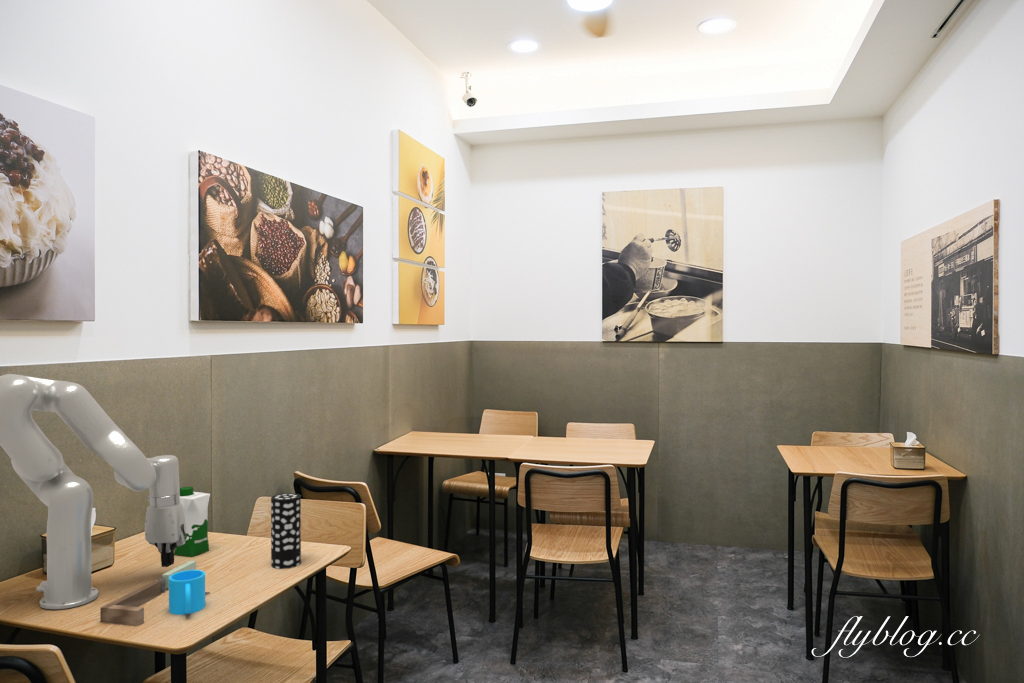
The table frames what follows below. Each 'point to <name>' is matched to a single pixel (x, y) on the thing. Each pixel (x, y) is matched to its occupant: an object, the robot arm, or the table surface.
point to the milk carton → (194, 522)
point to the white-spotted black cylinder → (285, 530)
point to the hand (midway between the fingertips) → (167, 565)
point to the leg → (186, 566)
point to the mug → (186, 592)
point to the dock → (132, 604)
